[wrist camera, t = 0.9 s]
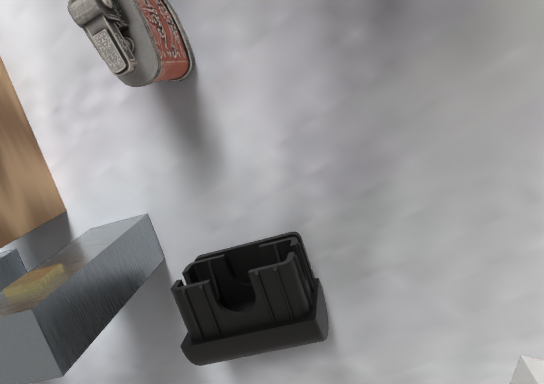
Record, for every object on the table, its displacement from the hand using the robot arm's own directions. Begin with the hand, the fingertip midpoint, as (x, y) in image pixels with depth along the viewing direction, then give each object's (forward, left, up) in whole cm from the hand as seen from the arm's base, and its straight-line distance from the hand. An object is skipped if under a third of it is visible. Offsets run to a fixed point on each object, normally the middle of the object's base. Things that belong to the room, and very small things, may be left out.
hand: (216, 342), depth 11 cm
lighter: (-11, -7, -25) cm, 28 cm away
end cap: (+10, -6, -25) cm, 28 cm away
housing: (+4, -22, -25) cm, 34 cm away
